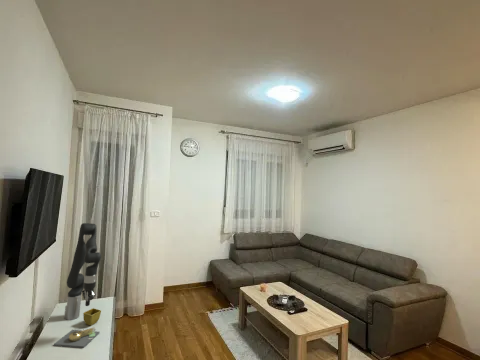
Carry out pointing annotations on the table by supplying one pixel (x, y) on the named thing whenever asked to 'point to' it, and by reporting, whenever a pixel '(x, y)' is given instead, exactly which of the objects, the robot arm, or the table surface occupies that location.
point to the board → (78, 344)
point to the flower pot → (91, 316)
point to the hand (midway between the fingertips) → (87, 305)
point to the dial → (80, 334)
